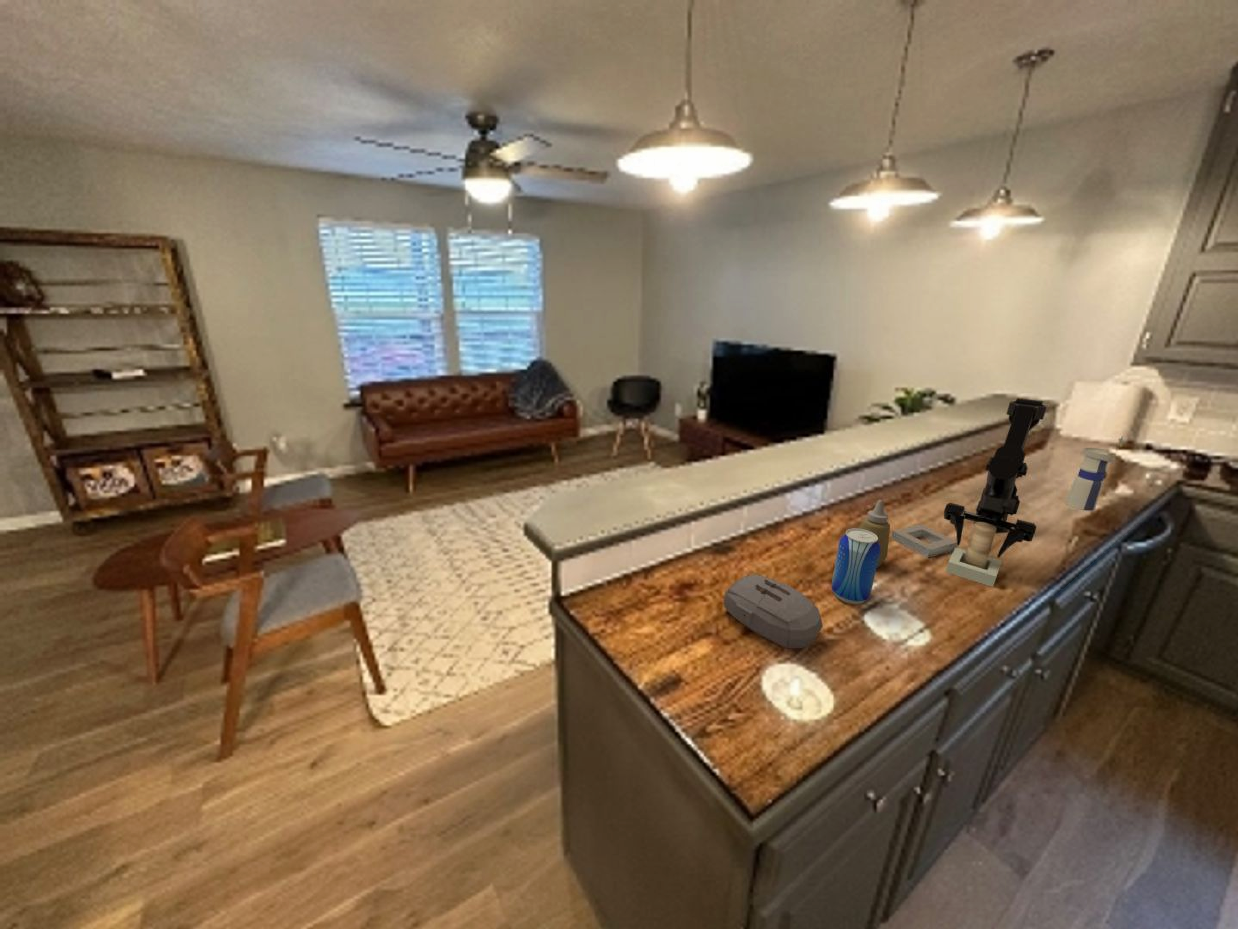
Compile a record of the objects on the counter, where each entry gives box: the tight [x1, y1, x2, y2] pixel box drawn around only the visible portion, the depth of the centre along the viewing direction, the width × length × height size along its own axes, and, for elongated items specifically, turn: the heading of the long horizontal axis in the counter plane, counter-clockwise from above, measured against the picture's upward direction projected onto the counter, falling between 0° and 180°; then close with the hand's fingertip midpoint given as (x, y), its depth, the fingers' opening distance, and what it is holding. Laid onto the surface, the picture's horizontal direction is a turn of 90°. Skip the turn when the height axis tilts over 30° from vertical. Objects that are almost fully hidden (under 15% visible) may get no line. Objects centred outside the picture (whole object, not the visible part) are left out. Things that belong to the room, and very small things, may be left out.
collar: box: [945, 547, 1002, 588], centre depth 126 cm, size 10×10×3 cm
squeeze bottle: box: [859, 499, 891, 569], centre depth 127 cm, size 8×8×18 cm
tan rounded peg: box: [963, 522, 997, 569], centre depth 125 cm, size 4×4×13 cm
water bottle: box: [1064, 436, 1125, 512], centre depth 162 cm, size 8×9×25 cm
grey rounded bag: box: [723, 573, 824, 649], centre depth 105 cm, size 15×8×20 cm
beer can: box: [830, 527, 881, 605], centre depth 114 cm, size 8×8×16 cm
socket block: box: [890, 524, 958, 559], centre depth 140 cm, size 12×12×2 cm
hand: (977, 550), depth 124 cm, fingers open, 8 cm apart
